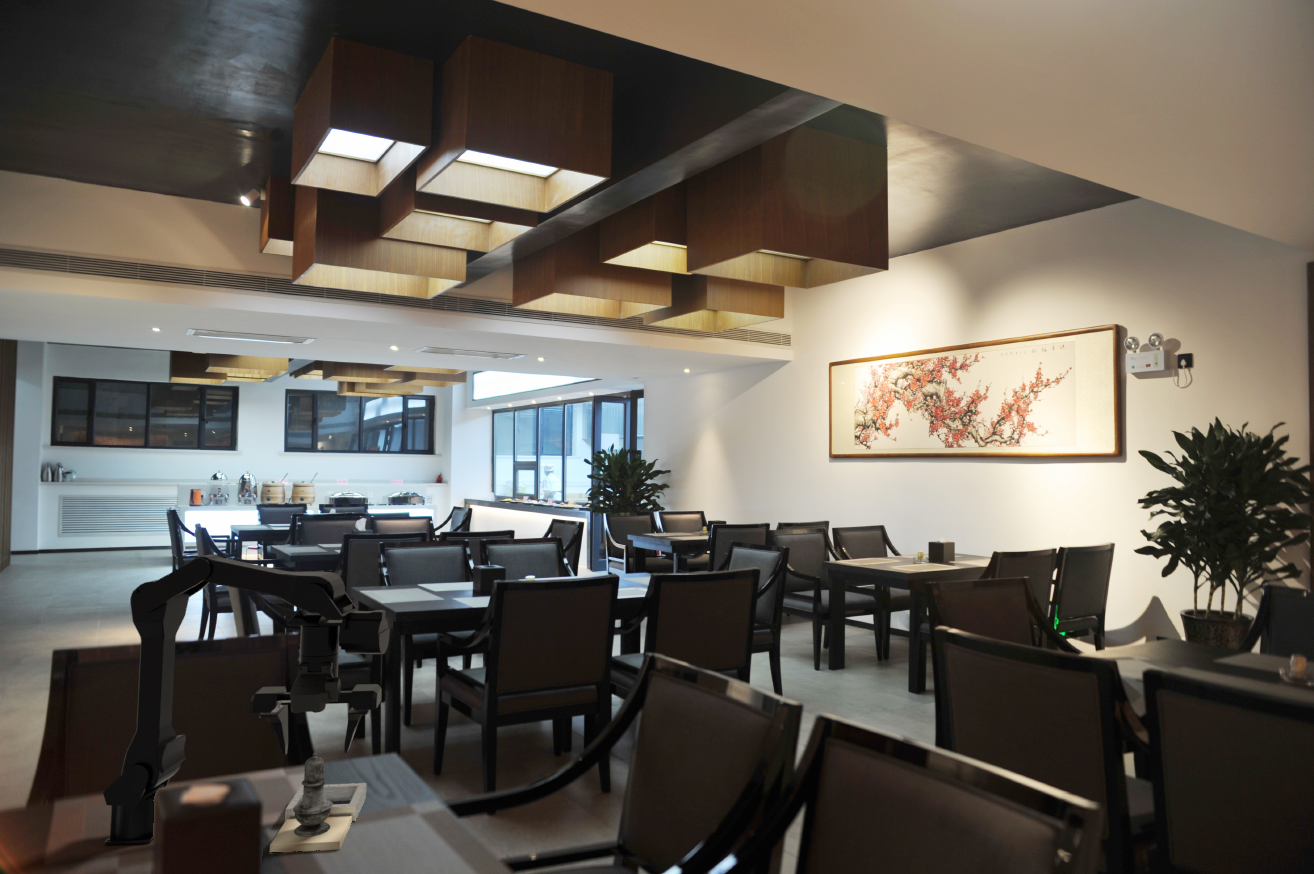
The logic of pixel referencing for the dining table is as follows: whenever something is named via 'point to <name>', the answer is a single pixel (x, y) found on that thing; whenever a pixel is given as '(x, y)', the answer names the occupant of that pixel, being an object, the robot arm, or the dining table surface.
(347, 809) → the grey square frame
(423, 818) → the dining table surface
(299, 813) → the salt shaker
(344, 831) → the wooden square board
